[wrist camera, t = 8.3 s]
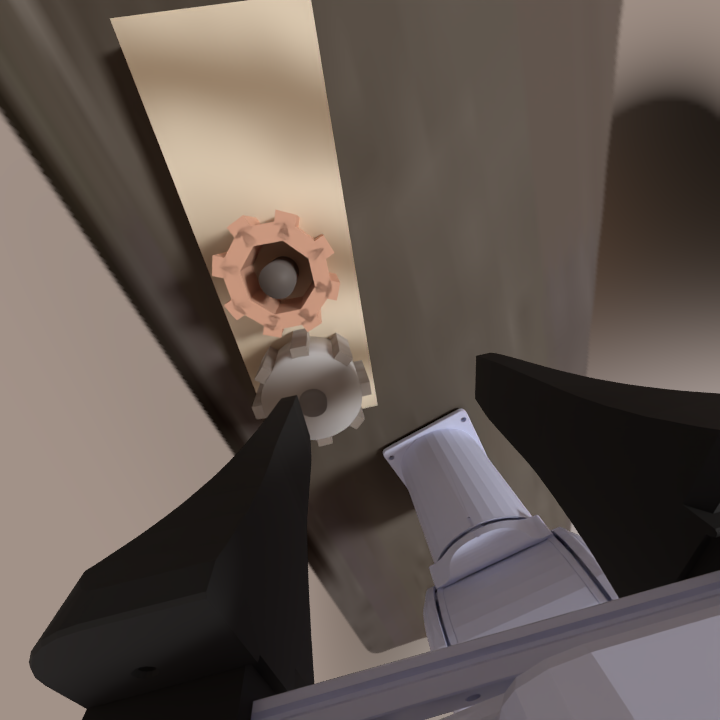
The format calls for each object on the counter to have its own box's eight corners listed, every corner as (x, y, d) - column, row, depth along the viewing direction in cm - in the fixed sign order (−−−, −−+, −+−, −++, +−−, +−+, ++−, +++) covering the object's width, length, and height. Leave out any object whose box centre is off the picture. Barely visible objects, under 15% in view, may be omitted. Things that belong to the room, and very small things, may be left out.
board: (373, 394, 22) (388, 436, 18) (273, 416, 22) (262, 465, 17) (310, 17, 13) (307, -96, 8) (132, 41, 12) (29, -65, 8)
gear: (322, 205, 15) (324, 200, 12) (343, 309, 17) (348, 323, 15) (214, 224, 14) (191, 224, 12) (251, 327, 17) (239, 346, 14)
